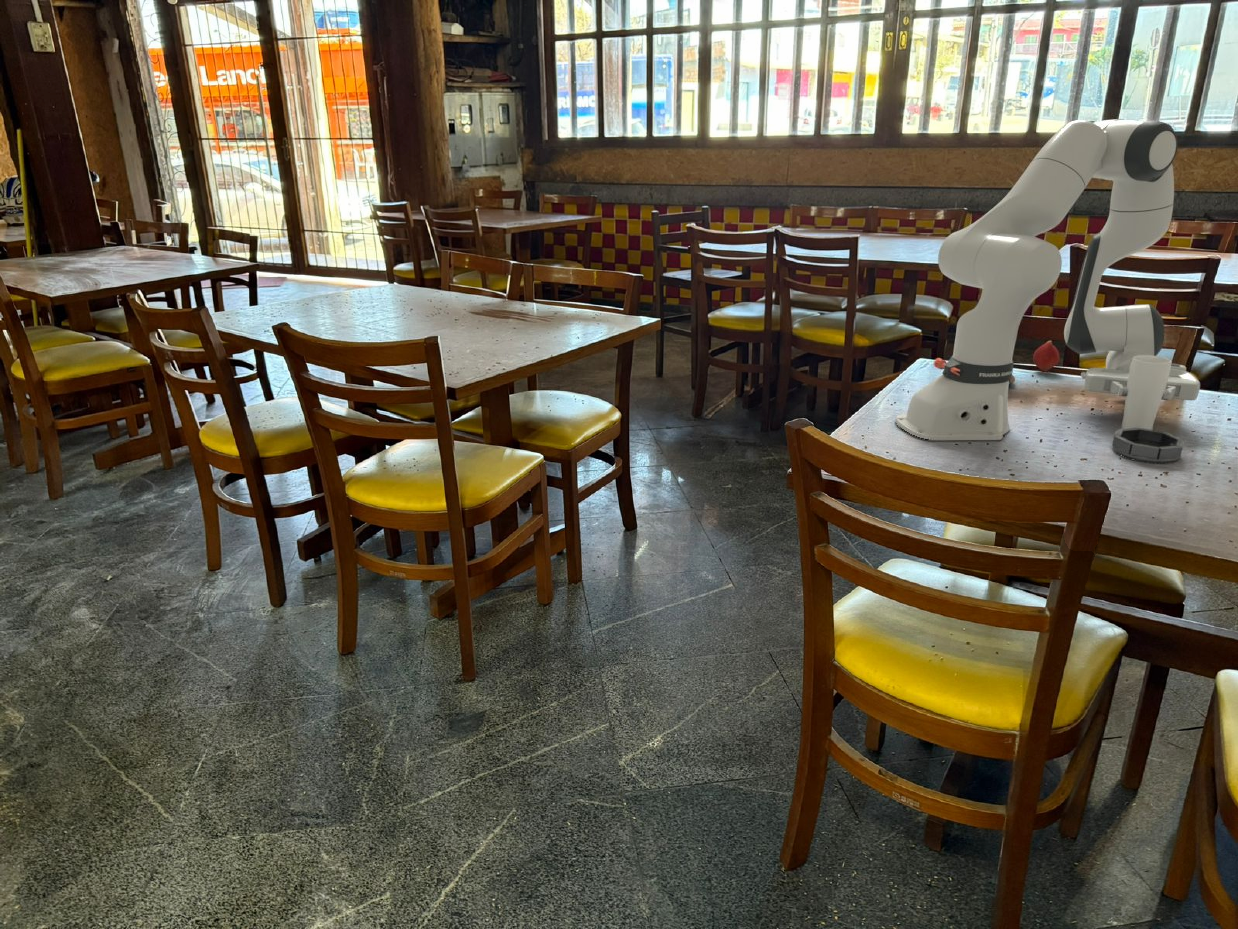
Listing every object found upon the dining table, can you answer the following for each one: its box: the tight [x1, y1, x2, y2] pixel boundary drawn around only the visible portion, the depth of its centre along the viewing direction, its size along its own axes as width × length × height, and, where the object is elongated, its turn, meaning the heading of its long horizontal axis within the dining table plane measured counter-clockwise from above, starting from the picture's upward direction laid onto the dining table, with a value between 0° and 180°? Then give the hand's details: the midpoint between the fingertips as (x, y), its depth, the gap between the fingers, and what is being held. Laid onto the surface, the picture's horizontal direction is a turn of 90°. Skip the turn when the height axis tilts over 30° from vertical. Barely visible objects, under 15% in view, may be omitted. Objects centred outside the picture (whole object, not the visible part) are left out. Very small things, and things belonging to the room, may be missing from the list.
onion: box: [1032, 340, 1060, 372], centre depth 210 cm, size 6×6×8 cm
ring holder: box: [1111, 428, 1185, 465], centre depth 158 cm, size 11×11×3 cm
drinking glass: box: [1121, 355, 1173, 430], centre depth 167 cm, size 7×7×15 cm
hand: (1145, 394), depth 166 cm, fingers closed on drinking glass, 6 cm apart
